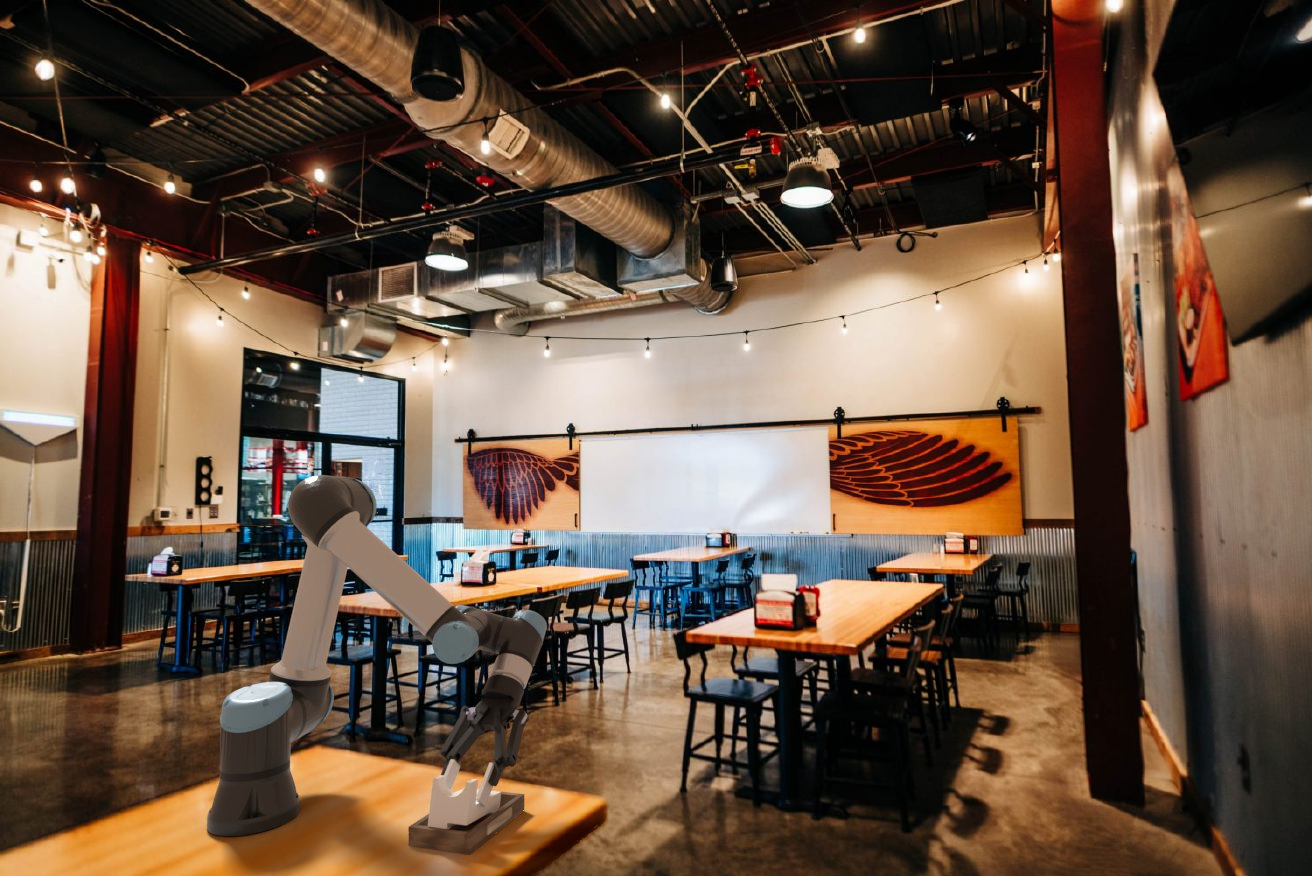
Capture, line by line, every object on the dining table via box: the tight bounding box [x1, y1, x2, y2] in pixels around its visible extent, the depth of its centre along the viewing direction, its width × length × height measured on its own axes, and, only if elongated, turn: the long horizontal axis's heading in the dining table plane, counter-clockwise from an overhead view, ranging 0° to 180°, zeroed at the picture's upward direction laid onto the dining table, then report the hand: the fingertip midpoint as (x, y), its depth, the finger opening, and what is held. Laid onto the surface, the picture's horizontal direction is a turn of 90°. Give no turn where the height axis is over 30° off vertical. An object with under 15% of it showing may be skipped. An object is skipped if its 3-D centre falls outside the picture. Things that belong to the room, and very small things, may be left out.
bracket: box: [428, 774, 502, 829], centre depth 131 cm, size 13×7×8 cm, turn 167°
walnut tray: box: [408, 789, 525, 855], centre depth 131 cm, size 12×18×3 cm
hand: (460, 800), depth 129 cm, fingers closed on bracket, 7 cm apart
